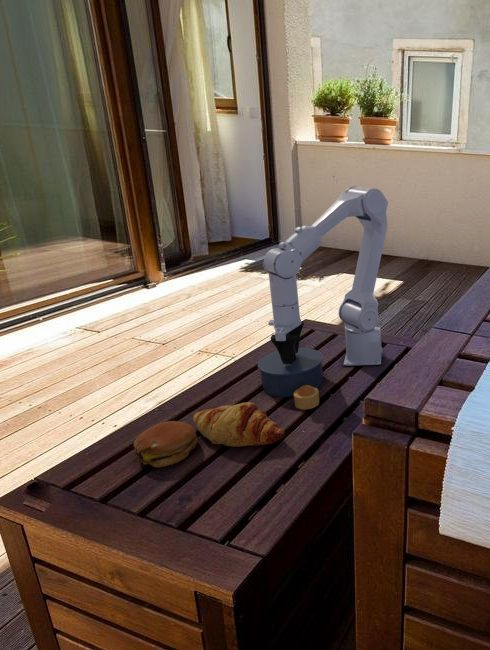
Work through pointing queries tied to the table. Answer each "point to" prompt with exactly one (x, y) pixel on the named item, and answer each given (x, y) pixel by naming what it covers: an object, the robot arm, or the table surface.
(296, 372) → the lid
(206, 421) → the croissant
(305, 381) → the pot
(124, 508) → the table surface
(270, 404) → the table surface
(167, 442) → the burger
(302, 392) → the ball in tan cup
